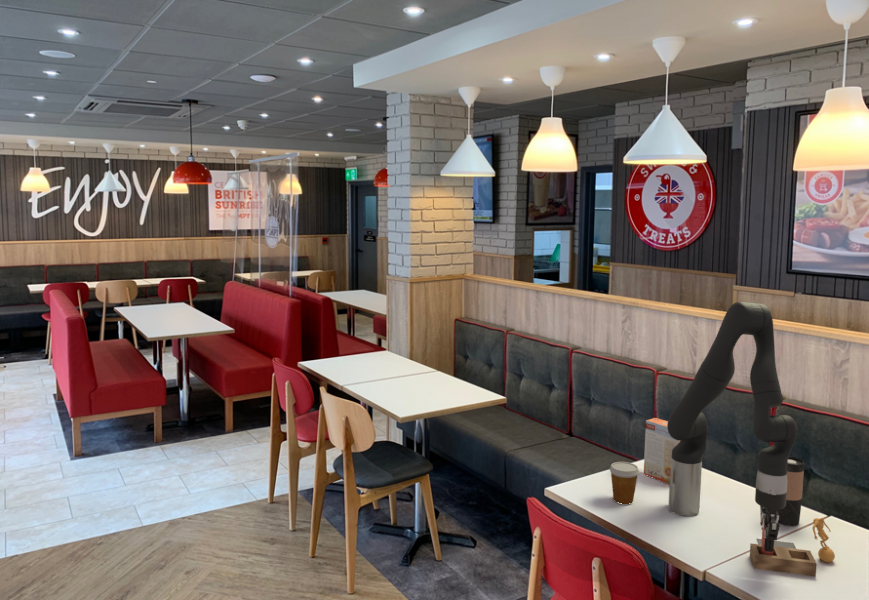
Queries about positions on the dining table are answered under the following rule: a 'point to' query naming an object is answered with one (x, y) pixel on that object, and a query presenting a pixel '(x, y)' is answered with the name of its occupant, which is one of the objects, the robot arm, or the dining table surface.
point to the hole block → (784, 560)
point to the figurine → (823, 541)
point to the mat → (780, 544)
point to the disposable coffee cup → (623, 481)
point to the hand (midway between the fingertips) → (767, 547)
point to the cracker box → (658, 450)
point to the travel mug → (793, 493)
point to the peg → (763, 545)
